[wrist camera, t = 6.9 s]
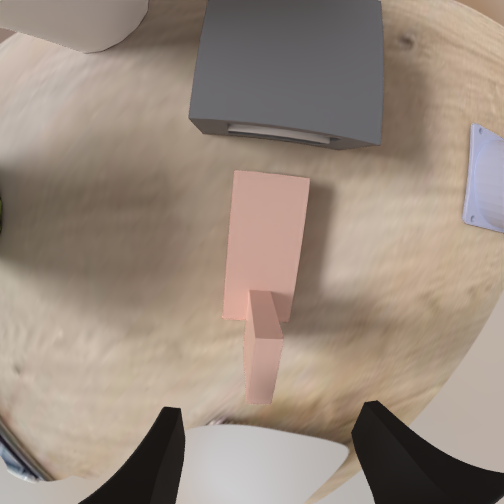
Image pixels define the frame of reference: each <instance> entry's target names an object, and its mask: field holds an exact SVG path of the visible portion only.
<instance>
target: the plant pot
mask: <svg viewBox="0 0 504 504" xmlns="http://www.w3.org/2000/svg"><path fill="white" fill-rule="evenodd" d="M1 211H2V205H1V198H0V218H1ZM0 232H1V226H0Z"/></svg>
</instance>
